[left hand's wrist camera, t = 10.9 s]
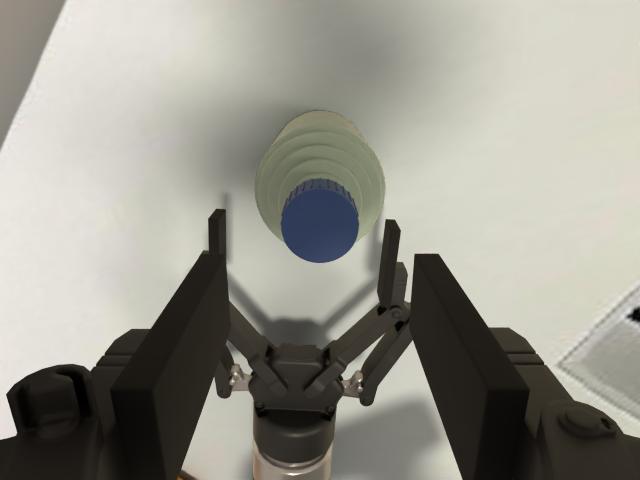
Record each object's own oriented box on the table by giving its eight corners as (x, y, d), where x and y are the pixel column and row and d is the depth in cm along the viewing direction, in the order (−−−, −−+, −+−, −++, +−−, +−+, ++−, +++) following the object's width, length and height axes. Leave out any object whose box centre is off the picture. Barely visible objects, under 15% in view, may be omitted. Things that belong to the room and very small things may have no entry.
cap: (270, 223, 23) (264, 238, 21) (308, 163, 22) (307, 172, 20) (330, 259, 24) (331, 277, 22) (370, 202, 23) (376, 215, 21)
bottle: (257, 172, 39) (206, 248, 22) (305, 91, 37) (291, 103, 19) (333, 218, 41) (343, 325, 23) (384, 143, 38) (438, 199, 21)
